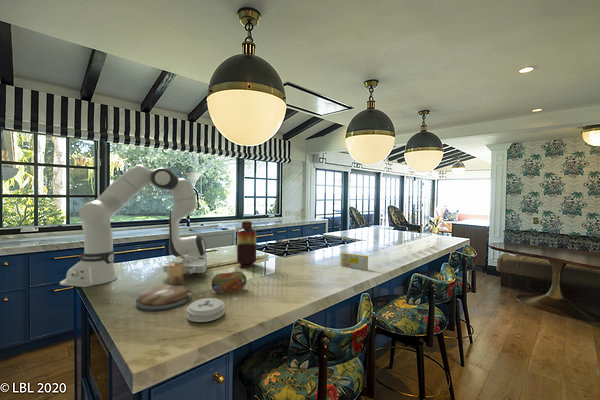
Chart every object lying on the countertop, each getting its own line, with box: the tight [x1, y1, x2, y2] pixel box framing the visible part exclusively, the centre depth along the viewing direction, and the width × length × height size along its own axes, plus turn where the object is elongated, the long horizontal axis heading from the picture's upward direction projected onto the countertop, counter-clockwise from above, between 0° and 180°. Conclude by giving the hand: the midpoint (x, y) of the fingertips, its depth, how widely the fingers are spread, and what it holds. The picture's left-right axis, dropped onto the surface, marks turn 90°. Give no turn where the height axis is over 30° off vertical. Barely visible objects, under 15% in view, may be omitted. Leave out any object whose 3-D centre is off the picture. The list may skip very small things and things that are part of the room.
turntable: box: [138, 284, 192, 306], centre depth 111 cm, size 20×18×2 cm
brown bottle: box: [236, 220, 257, 269], centre depth 163 cm, size 11×11×26 cm
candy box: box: [340, 252, 369, 272], centre depth 160 cm, size 16×2×8 cm, turn 58°
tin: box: [210, 270, 247, 295], centre depth 122 cm, size 15×3×8 cm, turn 117°
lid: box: [186, 297, 226, 323], centre depth 98 cm, size 13×13×5 cm
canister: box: [168, 263, 184, 286], centre depth 128 cm, size 6×6×10 cm
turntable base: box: [135, 289, 193, 312], centre depth 111 cm, size 20×20×2 cm
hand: (178, 272), depth 131 cm, fingers open, 8 cm apart
